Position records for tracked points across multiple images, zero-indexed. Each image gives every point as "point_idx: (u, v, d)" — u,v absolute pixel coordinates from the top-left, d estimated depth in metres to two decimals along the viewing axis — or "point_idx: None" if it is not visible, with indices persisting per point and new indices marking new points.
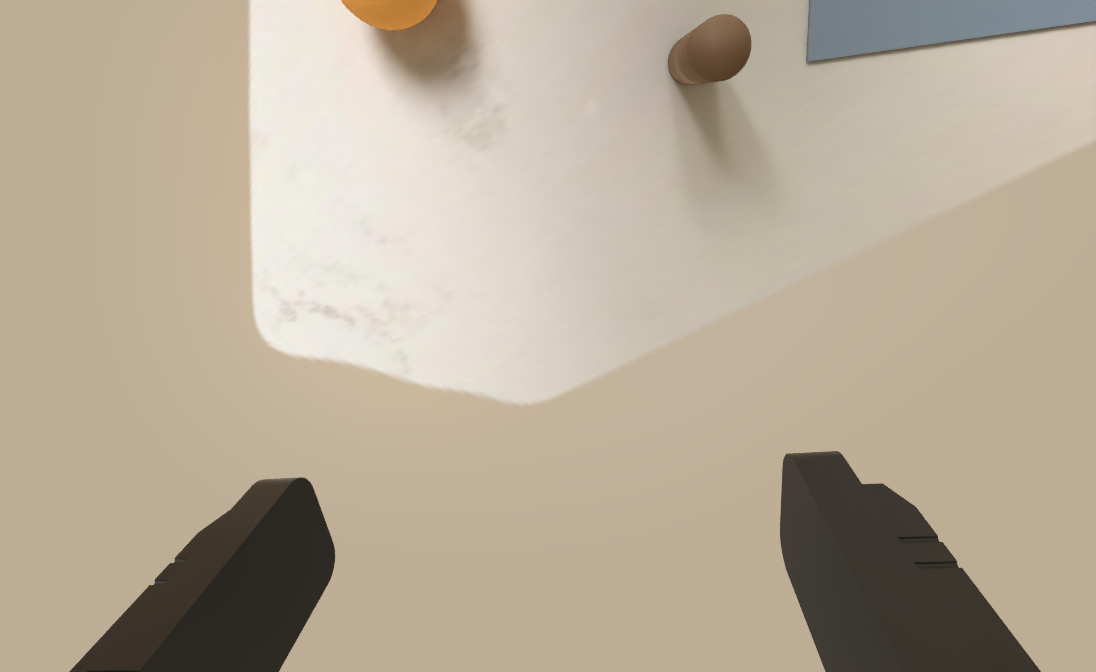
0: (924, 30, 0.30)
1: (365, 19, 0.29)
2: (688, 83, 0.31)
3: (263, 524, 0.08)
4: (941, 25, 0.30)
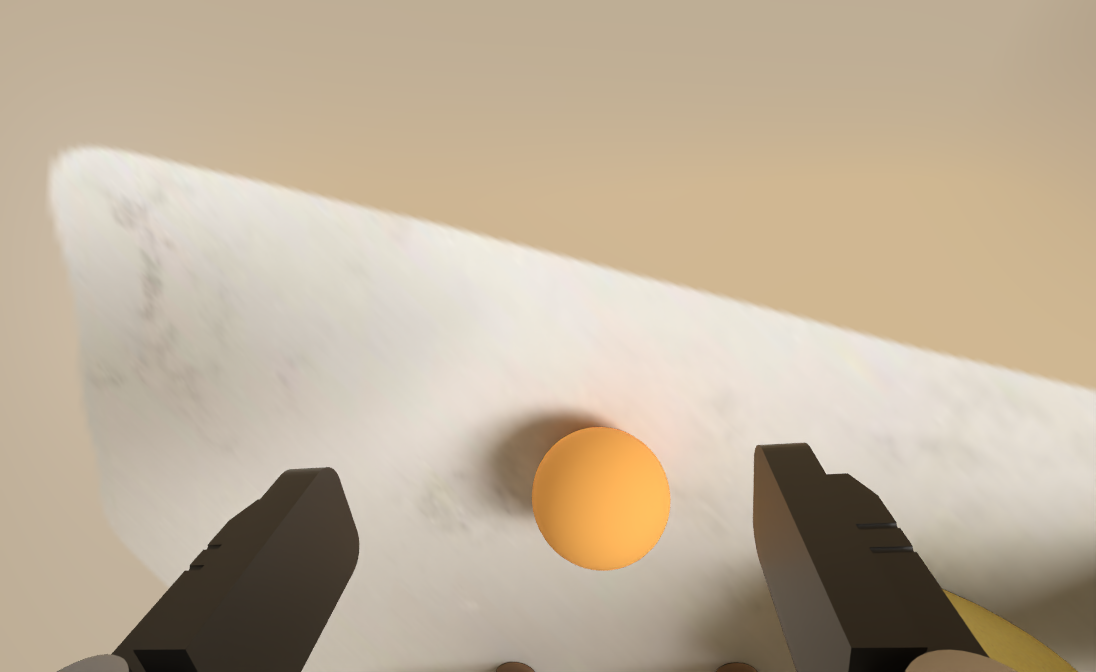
0: None
1: (538, 489, 0.23)
2: None
3: (294, 511, 0.08)
4: None
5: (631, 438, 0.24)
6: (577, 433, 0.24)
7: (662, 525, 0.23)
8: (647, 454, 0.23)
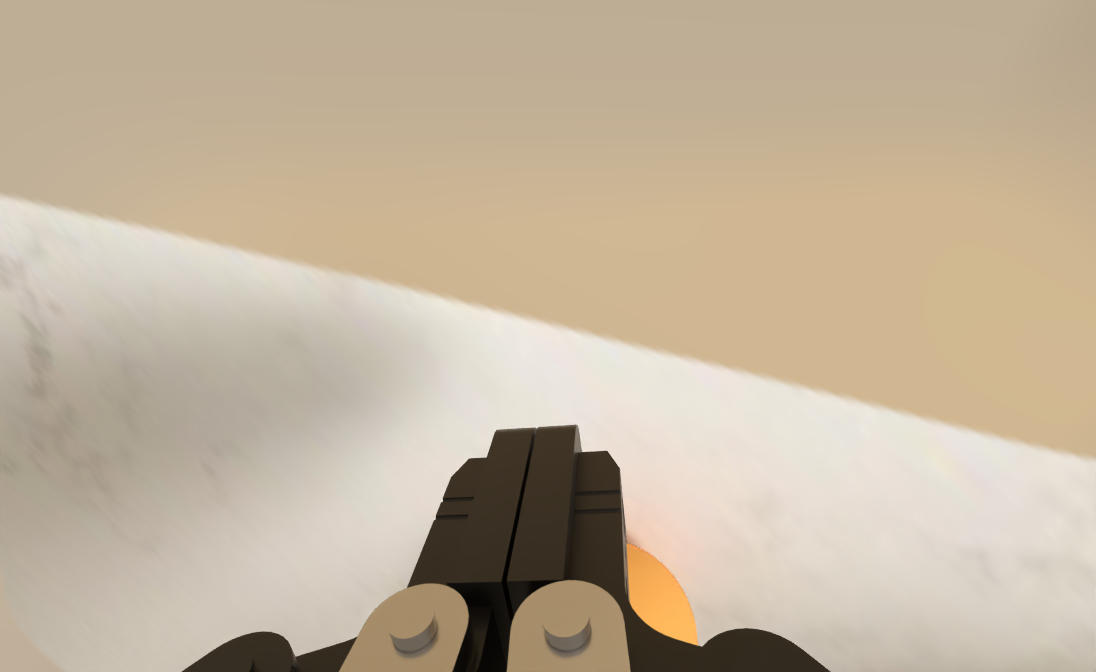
0: None
1: None
2: None
3: (527, 466, 0.09)
4: None
5: (645, 562, 0.18)
6: None
7: None
8: (667, 587, 0.17)
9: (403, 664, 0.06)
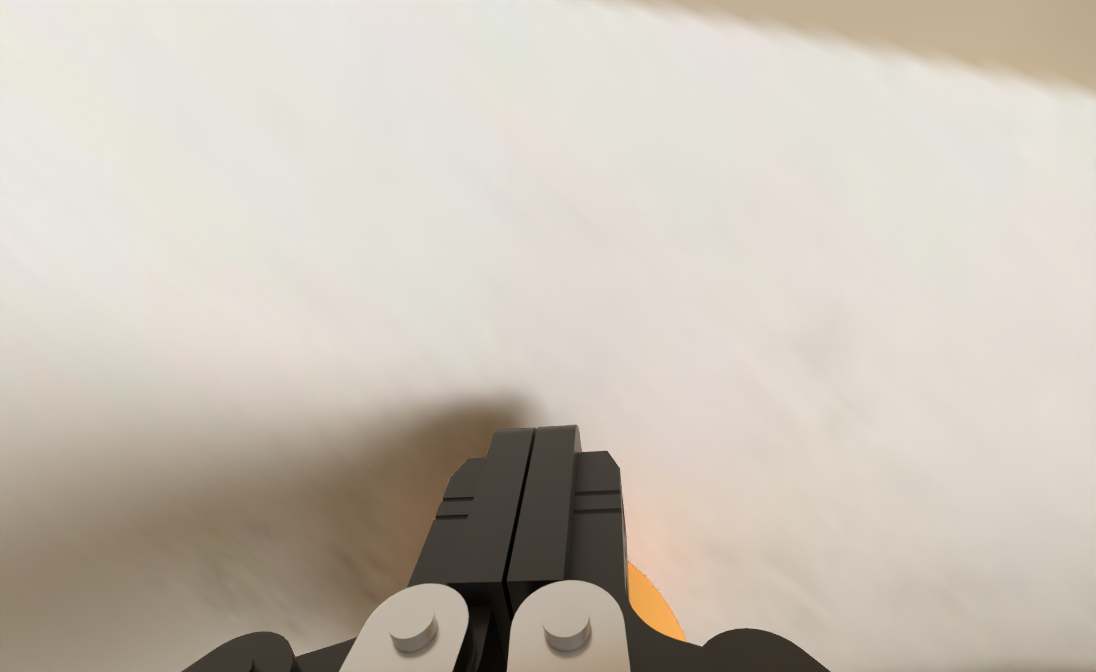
0: None
1: None
2: None
3: (527, 466, 0.09)
4: None
5: None
6: None
7: None
8: None
9: (403, 664, 0.06)
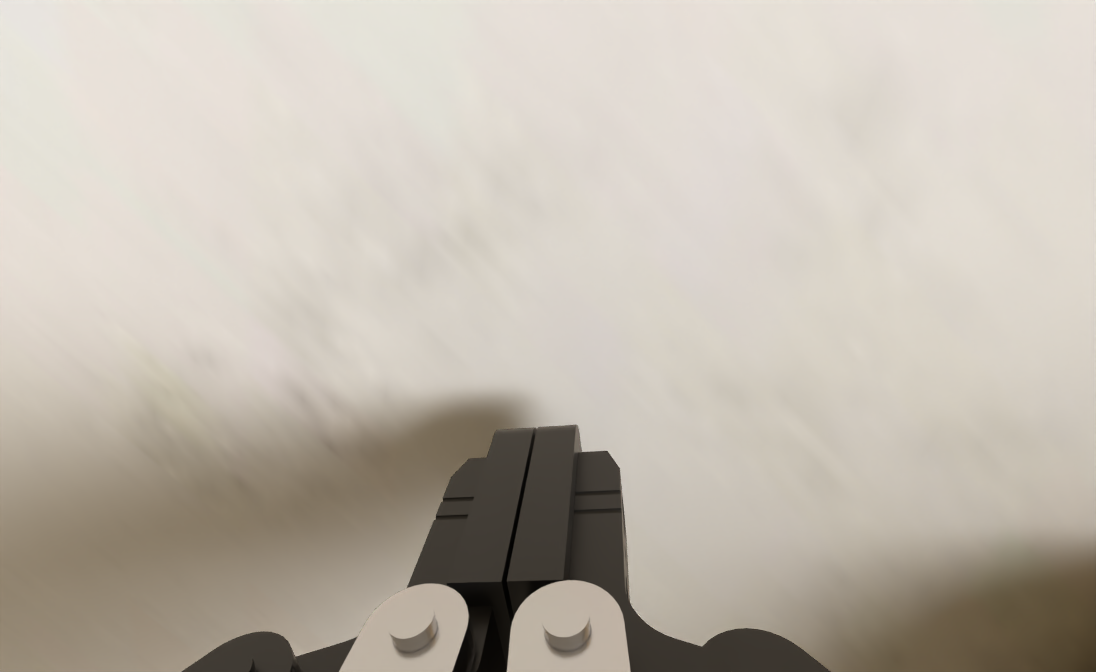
0: None
1: None
2: None
3: (527, 466, 0.09)
4: None
5: None
6: None
7: None
8: None
9: (403, 664, 0.06)
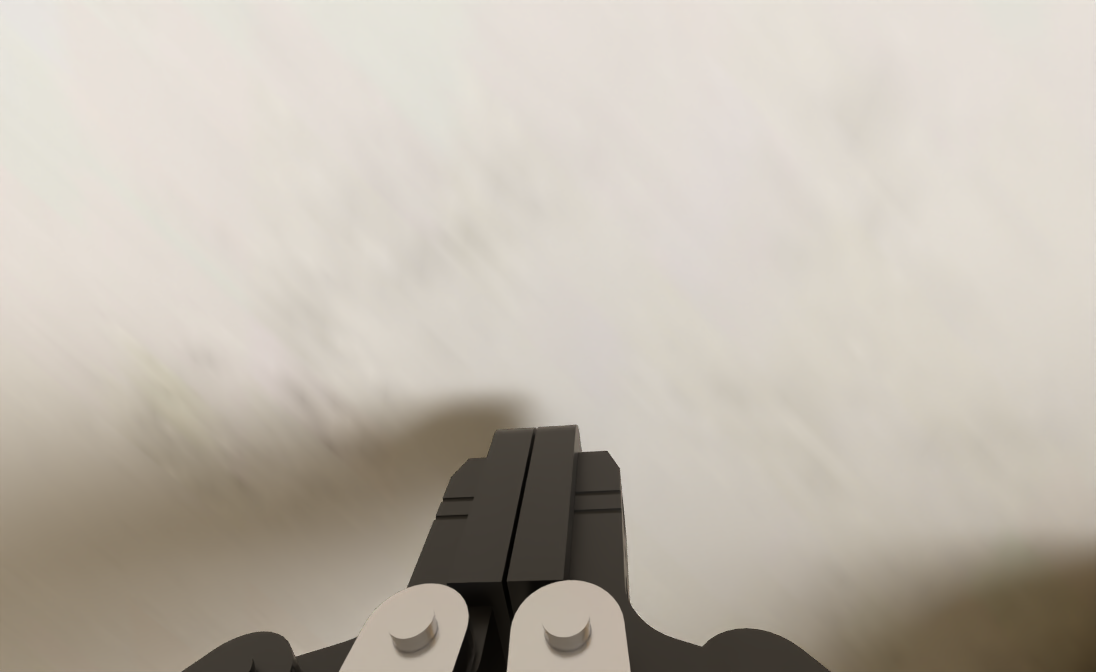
0: None
1: None
2: None
3: (527, 466, 0.09)
4: None
5: None
6: None
7: None
8: None
9: (403, 664, 0.06)
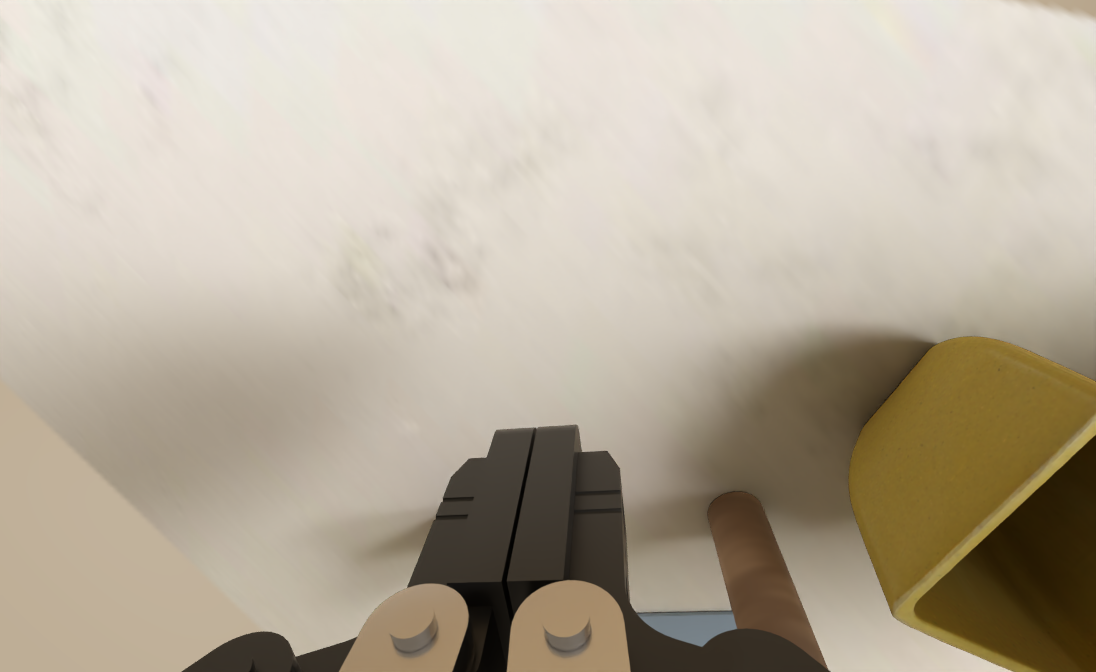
0: None
1: None
2: None
3: (527, 466, 0.09)
4: None
5: None
6: None
7: None
8: None
9: (402, 664, 0.06)
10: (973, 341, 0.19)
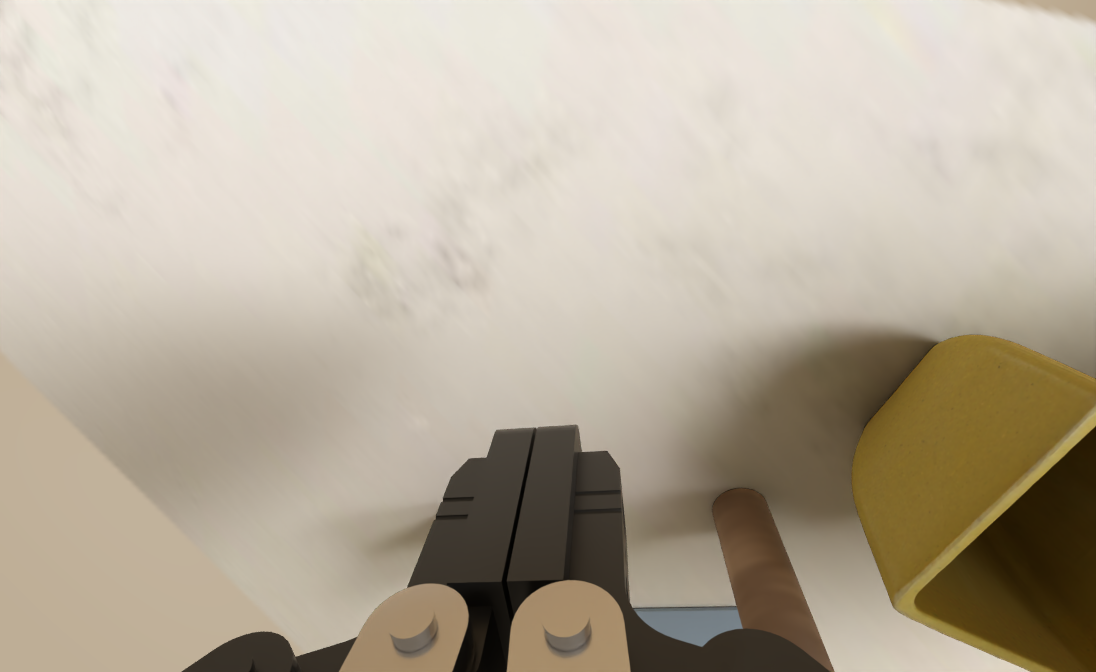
0: None
1: None
2: None
3: (527, 466, 0.09)
4: None
5: None
6: None
7: None
8: None
9: (403, 664, 0.06)
10: (974, 339, 0.19)
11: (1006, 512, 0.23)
